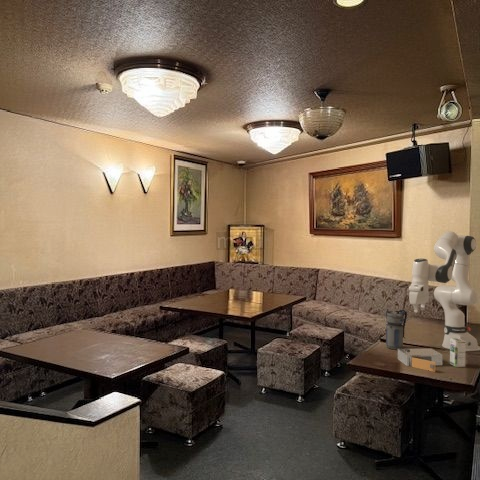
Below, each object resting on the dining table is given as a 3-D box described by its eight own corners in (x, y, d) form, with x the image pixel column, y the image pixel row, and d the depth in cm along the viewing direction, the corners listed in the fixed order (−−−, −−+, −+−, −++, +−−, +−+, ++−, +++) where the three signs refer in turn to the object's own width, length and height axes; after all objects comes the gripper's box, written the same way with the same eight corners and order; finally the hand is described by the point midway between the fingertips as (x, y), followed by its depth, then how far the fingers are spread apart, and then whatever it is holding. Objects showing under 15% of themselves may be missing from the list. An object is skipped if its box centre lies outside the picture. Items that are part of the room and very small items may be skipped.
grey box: (429, 357, 239) (429, 346, 239) (442, 365, 225) (442, 353, 225) (396, 357, 238) (396, 346, 238) (406, 365, 224) (406, 354, 224)
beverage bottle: (409, 350, 253) (409, 310, 252) (387, 350, 254) (387, 310, 253) (403, 346, 263) (404, 307, 263) (382, 345, 264) (383, 307, 264)
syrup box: (449, 363, 228) (449, 338, 227) (459, 363, 228) (459, 337, 228) (455, 367, 222) (455, 340, 222) (465, 366, 223) (466, 340, 222)
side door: (435, 371, 215) (435, 361, 215) (434, 372, 214) (434, 362, 214) (410, 365, 224) (410, 356, 224) (409, 366, 223) (409, 356, 223)
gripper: (420, 285, 242) (420, 308, 242) (407, 287, 227) (406, 312, 227) (432, 286, 237) (431, 310, 237) (419, 288, 222) (418, 314, 222)
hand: (419, 311), depth 232 cm, fingers open, 8 cm apart
